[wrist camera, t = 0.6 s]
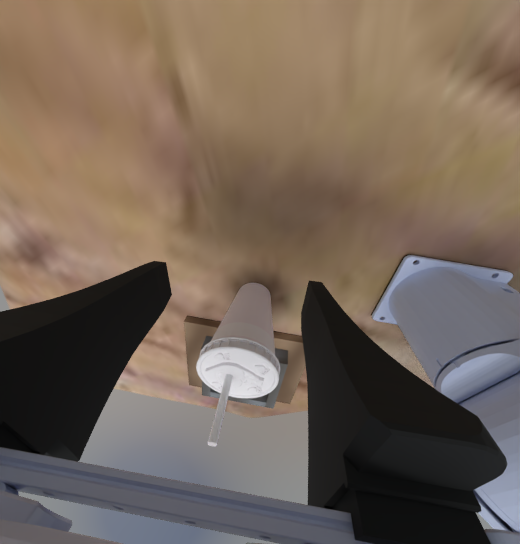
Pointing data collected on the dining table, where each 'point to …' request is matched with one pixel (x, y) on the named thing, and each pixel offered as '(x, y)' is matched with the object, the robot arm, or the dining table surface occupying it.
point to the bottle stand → (285, 351)
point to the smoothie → (241, 352)
